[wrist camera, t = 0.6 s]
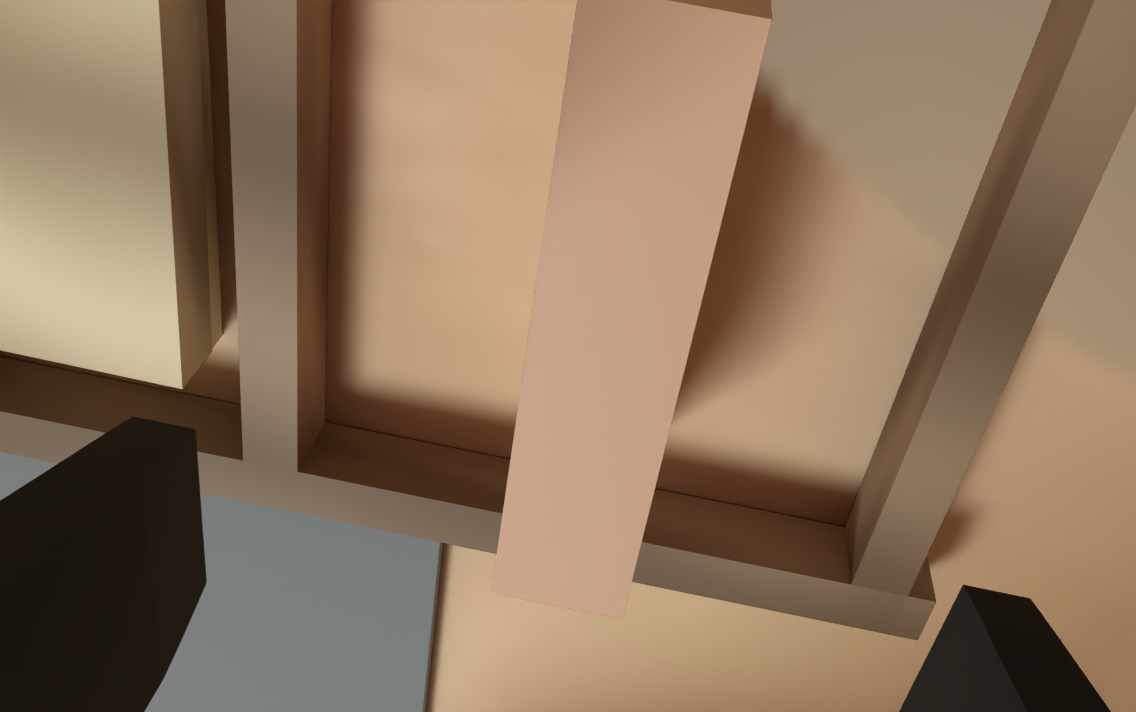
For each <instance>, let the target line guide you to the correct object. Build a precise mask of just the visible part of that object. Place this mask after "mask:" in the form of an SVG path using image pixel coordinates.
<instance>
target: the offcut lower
mask: <svg viewBox="0 0 1136 712" xmlns="http://www.w3.org/2000/svg"><path fill="white" fill-rule="evenodd" d="M198 18H199V43H200V67H201V91H202V115H203V140H204V164H205V188H206V212H207V237H208V261H209V285H210V310H211V334H212V348H213V347H214V346H215V344H216V343H217V342H218V340H219V339H220V338H221V336H222V335H223V334H222V313H221V293H220V272H219V252H218V231H217V211H216V190H215V170H214V149H213V128H212V108H211V87H210V67H209V46H208V26H207V5H206V0H198Z"/></svg>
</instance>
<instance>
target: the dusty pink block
mask: <svg viewBox="0 0 1136 712" xmlns="http://www.w3.org/2000/svg"><path fill="white" fill-rule="evenodd" d="M771 21H772V14H771V1H770V0H577V5H576V12H575V19H574V26H573V32H572V39H571V46H570V53H569V60H568V67H567V74H566V81H565V88H564V94H563V101H562V108H561V115H560V122H559V129H558V136H557V143H556V149H555V156H554V163H553V170H552V177H551V184H550V191H549V198H548V204H547V211H546V218H545V225H544V232H543V239H542V246H541V253H540V260H539V266H538V273H537V280H536V287H535V294H534V301H533V308H532V315H531V321H530V328H529V335H528V342H527V349H526V356H525V363H524V370H523V377H522V383H521V390H520V397H519V404H518V411H517V418H516V425H515V432H514V438H513V445H512V452H511V459H510V466H509V473H508V480H507V487H506V494H505V500H504V507H503V514H502V521H501V528H500V535H499V542H498V549H497V555H496V562H495V569H494V576H493V583H492V590H491V593H492V594H497V595H502V596H507V597H512V598H517V599H521V600H526V601H531V602H536V603H541V604H546V605H551V606H556V607H560V608H565V609H570V610H575V611H580V612H585V613H590V614H595V615H600V616H604V617H609V618H614V619H619V620H622V619H623V615H624V611H625V607H626V603H627V599H628V594H629V590H630V586H631V582H632V578H633V574H634V570H635V566H636V562H637V558H638V554H639V550H640V546H641V542H642V538H643V534H644V530H645V526H646V522H647V518H648V514H649V510H650V506H651V502H652V498H653V494H654V490H655V486H656V482H657V478H658V474H659V470H660V466H661V462H662V458H663V454H664V450H665V446H666V442H667V438H668V434H669V430H670V426H671V422H672V418H673V414H674V410H675V406H676V402H677V398H678V394H679V390H680V386H681V382H682V378H683V374H684V370H685V366H686V362H687V358H688V354H689V350H690V346H691V342H692V338H693V334H694V330H695V326H696V322H697V318H698V314H699V310H700V306H701V302H702V298H703V294H704V290H705V286H706V282H707V278H708V274H709V270H710V266H711V262H712V258H713V254H714V250H715V246H716V242H717V238H718V234H719V230H720V226H721V222H722V218H723V214H724V210H725V206H726V202H727V198H728V194H729V190H730V186H731V182H732V178H733V174H734V170H735V166H736V162H737V158H738V154H739V150H740V146H741V142H742V138H743V134H744V130H745V126H746V122H747V118H748V114H749V110H750V106H751V102H752V98H753V94H754V90H755V86H756V82H757V78H758V74H759V70H760V66H761V62H762V58H763V54H764V50H765V46H766V42H767V38H768V34H769V30H770V26H771Z"/></svg>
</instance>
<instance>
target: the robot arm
mask: <svg viewBox="0 0 1136 712" xmlns="http://www.w3.org/2000/svg"><path fill="white" fill-rule="evenodd" d="M206 583H207V579H206V566H205V552H204V538H203V524H202V510H201V497H200V483H199V469H198V455H197V441H196V429H193V428H188V427H183V426H178V425H173V424H168V423H163V422H158V421H153V420H149V419H144V418H139V417H134V416H133V417H131V418H129V419H128V420H126V421H124V422H123V423H121V424H120V425H118V426H116V427H115V428H113V429H111V430H110V431H108V432H107V433H105V434H103V435H102V436H100V437H99V438H97V439H96V440H94V441H92V442H91V443H89V444H88V445H86V446H85V447H83V448H82V449H80V450H78V451H77V452H75V453H74V454H72V455H71V456H69V457H67V458H66V459H64V460H63V461H61V462H60V463H58V464H57V465H55V466H53V467H52V468H50V469H49V470H47V471H46V472H44V473H43V474H41V475H39V476H38V477H36V478H35V479H33V480H32V481H30V482H28V483H27V484H25V485H24V486H22V487H21V488H19V489H17V490H16V491H14V492H13V493H11V494H10V495H8V496H6V497H5V498H3V499H2V500H0V712H144V711H145V710H146V708H147V706H148V705H149V703H150V701H151V700H152V698H153V696H154V695H155V693H156V691H157V689H158V688H159V686H160V684H161V683H162V681H163V679H164V677H165V675H166V673H167V671H168V669H169V666H170V664H171V662H172V660H173V658H174V656H175V653H176V651H177V649H178V647H179V645H180V643H181V641H182V638H183V636H184V634H185V632H186V629H187V627H188V625H189V622H190V620H191V618H192V616H193V613H194V611H195V609H196V606H197V604H198V602H199V599H200V597H201V595H202V593H203V590H204V588H205V586H206ZM899 712H1111V711H1110V710H1109V708H1108V707H1107V706H1106V704H1105V703H1104V701H1103V700H1102V698H1101V697H1100V696H1099V694H1098V693H1097V691H1096V690H1095V689H1094V687H1093V686H1092V684H1091V683H1090V681H1089V680H1088V679H1087V677H1086V676H1085V674H1084V673H1083V672H1082V670H1081V669H1080V667H1079V666H1078V664H1077V663H1076V662H1075V660H1074V659H1073V657H1072V656H1071V654H1070V653H1069V652H1068V650H1067V649H1066V647H1065V646H1064V644H1063V643H1062V642H1061V640H1060V639H1059V637H1058V636H1057V635H1056V633H1055V632H1054V630H1053V629H1052V628H1051V626H1050V625H1049V623H1048V622H1047V621H1046V619H1045V618H1044V617H1043V615H1042V614H1041V612H1040V611H1039V610H1038V608H1037V607H1036V606H1035V604H1034V603H1033V602H1032V600H1031V599H1030V598H1025V597H1020V596H1015V595H1010V594H1006V593H1001V592H996V591H991V590H986V589H981V588H976V587H971V586H966V585H963V586H962V588H961V590H960V592H959V594H958V596H957V598H956V600H955V602H954V604H953V606H952V608H951V610H950V612H949V614H948V616H947V618H946V620H945V622H944V624H943V626H942V628H941V630H940V632H939V634H938V636H937V638H936V640H935V642H934V644H933V646H932V648H931V650H930V652H929V654H928V656H927V658H926V660H925V662H924V664H923V666H922V668H921V670H920V672H919V673H918V675H917V677H916V679H915V681H914V683H913V685H912V687H911V689H910V691H909V693H908V695H907V697H906V699H905V701H904V703H903V705H902V707H901V709H900V711H899Z"/></svg>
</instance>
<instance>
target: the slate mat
mask: <svg viewBox="0 0 1136 712" xmlns="http://www.w3.org/2000/svg"><path fill="white" fill-rule="evenodd" d="M55 465H57V464H56V463H51V462H47V461H42V460H37V459H32V458H27V457H22V456H17V455H13V454H8V453H3V452H0V500H2V499H3V498H5V497H6V496H8V495H10V494H11V493H13V492H14V491H16V490H17V489H19V488H21V487H22V486H24V485H25V484H27V483H28V482H30V481H32V480H33V479H35V478H36V477H38V476H39V475H41V474H43V473H44V472H46V471H47V470H49V469H50V468H52V467H53V466H55ZM200 497H201V510H202V524H203V538H204V552H205V566H206V579H207V583H206V586H205V588H204V590H203V593H202V595H201V597H200V599H199V602H198V604H197V606H196V609H195V611H194V613H193V616H192V618H191V620H190V622H189V625H188V627H187V629H186V632H185V634H184V636H183V638H182V641H181V643H180V645H179V647H178V649H177V651H176V653H175V656H174V658H173V660H172V662H171V664H170V666H169V669H168V671H167V673H166V675H165V677H164V679H163V681H162V683H161V684H160V686H159V688H158V689H157V691H156V693H155V695H154V696H153V698H152V700H151V701H150V703H149V705H148V706H147V708H146V710H145V711H144V712H425V711H426V702H427V692H428V682H429V673H430V663H431V654H432V644H433V635H434V625H435V616H436V606H437V597H438V587H439V577H440V568H441V558H442V549H443V543H441V542H436V541H431V540H427V539H422V538H417V537H412V536H407V535H402V534H397V533H392V532H388V531H383V530H378V529H373V528H368V527H363V526H358V525H353V524H349V523H344V522H339V521H334V520H329V519H324V518H319V517H314V516H310V515H305V514H300V513H295V512H290V511H285V510H280V509H276V508H271V507H266V506H261V505H256V504H251V503H246V502H241V501H237V500H232V499H227V498H222V497H217V496H212V495H207V494H202V493H200Z"/></svg>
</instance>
